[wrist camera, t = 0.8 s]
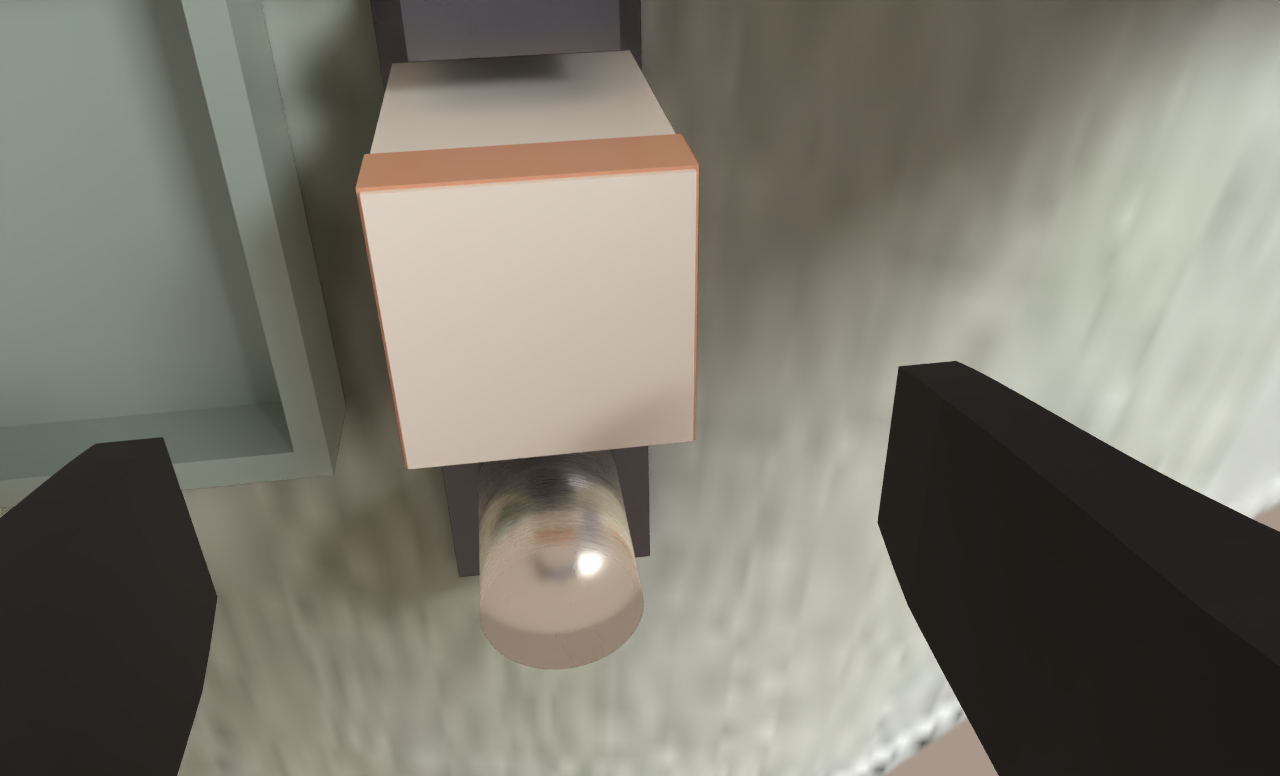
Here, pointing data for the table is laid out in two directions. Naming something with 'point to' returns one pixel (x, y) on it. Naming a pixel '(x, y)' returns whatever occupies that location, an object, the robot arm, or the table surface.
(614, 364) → the beige and orange block
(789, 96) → the table surface
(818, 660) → the table surface
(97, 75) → the tray
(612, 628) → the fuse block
